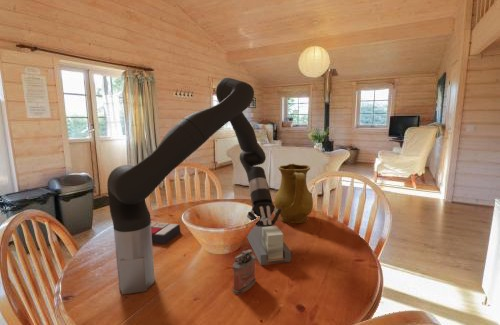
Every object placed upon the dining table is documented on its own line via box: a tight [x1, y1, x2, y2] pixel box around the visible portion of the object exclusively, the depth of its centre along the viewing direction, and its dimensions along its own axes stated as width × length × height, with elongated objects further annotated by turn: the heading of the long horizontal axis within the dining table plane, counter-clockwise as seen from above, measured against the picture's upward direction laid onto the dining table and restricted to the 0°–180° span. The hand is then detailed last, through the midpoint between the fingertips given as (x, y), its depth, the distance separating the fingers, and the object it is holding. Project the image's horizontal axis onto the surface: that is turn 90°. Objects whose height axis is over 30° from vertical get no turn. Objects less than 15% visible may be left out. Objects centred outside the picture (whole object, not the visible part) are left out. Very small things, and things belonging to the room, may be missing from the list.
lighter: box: [232, 249, 257, 295], centre depth 73 cm, size 8×3×10 cm, turn 141°
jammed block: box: [262, 225, 284, 260], centre depth 88 cm, size 7×5×8 cm
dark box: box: [151, 221, 181, 245], centre depth 106 cm, size 11×4×15 cm
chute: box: [246, 225, 292, 266], centre depth 99 cm, size 28×10×4 cm, turn 13°
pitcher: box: [274, 163, 314, 224], centre depth 120 cm, size 17×19×25 cm
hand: (269, 236), depth 92 cm, fingers closed
